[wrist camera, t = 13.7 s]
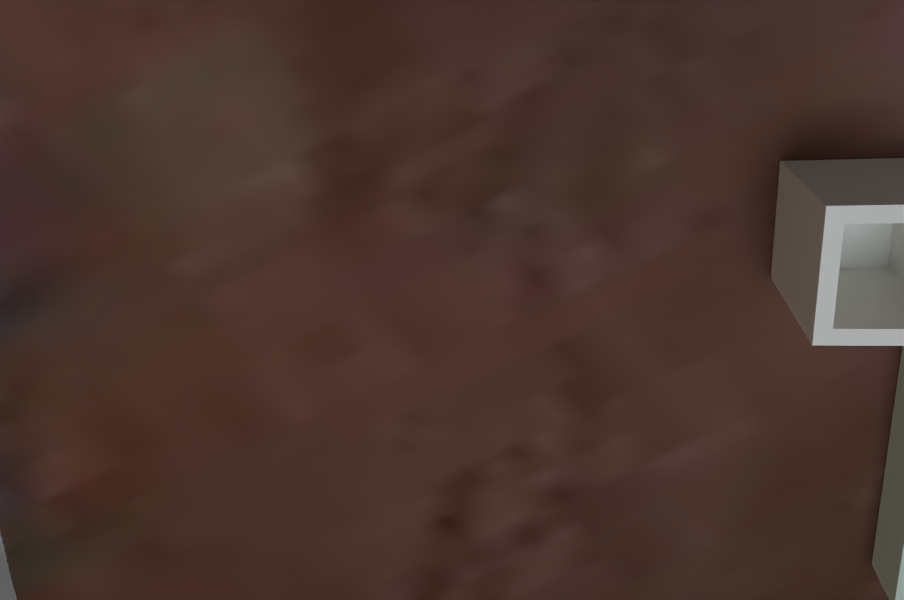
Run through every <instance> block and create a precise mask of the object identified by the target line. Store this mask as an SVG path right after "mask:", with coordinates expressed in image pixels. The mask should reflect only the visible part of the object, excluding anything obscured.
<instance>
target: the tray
mask: <svg viewBox="0 0 904 600" xmlns="http://www.w3.org/2000/svg"><path fill="white" fill-rule="evenodd" d="M872 566H873V568H874V570H875V572H876V574H877V576H878V578H879V580H880V582H881V584H882V586H883V588H884V590H885V592H886V595H887V597H888V599H889V600H904V346H902V352H901V359H900V366H899V373H898V380H897V387H896V394H895V402H894V409H893V416H892V423H891V430H890V437H889V444H888V451H887V458H886V466H885V473H884V480H883V487H882V494H881V501H880V508H879V515H878V522H877V530H876V537H875V544H874V551H873V558H872Z"/></svg>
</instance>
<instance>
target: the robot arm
mask: <svg viewBox="0 0 904 600" xmlns="http://www.w3.org/2000/svg"><path fill="white" fill-rule="evenodd" d="M0 600H17V598H16V595H15V591H14V588H13V584H12V581H11V577H10V574H9V570H8V567H7V563H6V560H5V557H4V553H3V550H2V546H1V543H0Z"/></svg>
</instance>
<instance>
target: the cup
mask: <svg viewBox="0 0 904 600" xmlns="http://www.w3.org/2000/svg"><path fill="white" fill-rule="evenodd" d="M771 278H772V280H773V282H774V283H775V285H776V287H777V288H778V290H779V292H780V293H781V295H782V297H783V298H784V300H785V301H786V303H787V305H788V306H789V308H790V310H791V311H792V313H793V315H794V316H795V318H796V319H797V321H798V323H799V324H800V326H801V328H802V329H803V331H804V333H805V334H806V336H807V337H808V339H809V341H810V342H811V344H812V345H842V346H904V158H878V159H838V160H798V161H780V168H779V181H778V193H777V206H776V219H775V231H774V244H773V256H772V269H771Z"/></svg>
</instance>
